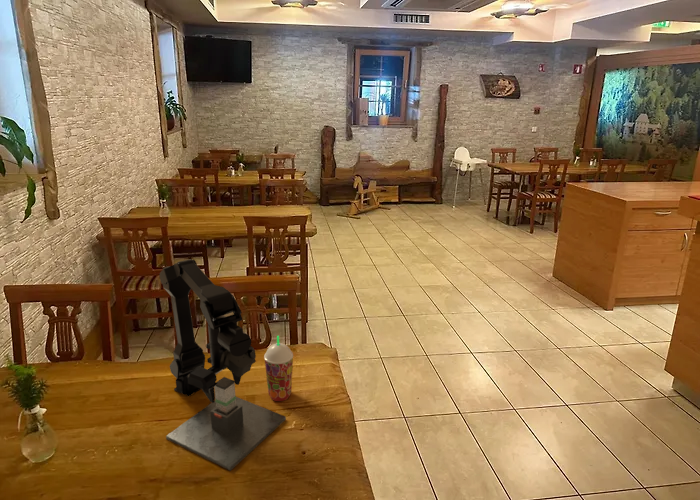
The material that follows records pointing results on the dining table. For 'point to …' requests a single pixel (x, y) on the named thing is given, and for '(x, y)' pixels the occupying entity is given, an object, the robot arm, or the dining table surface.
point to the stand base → (226, 432)
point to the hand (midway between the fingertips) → (225, 393)
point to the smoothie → (279, 371)
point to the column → (225, 396)
